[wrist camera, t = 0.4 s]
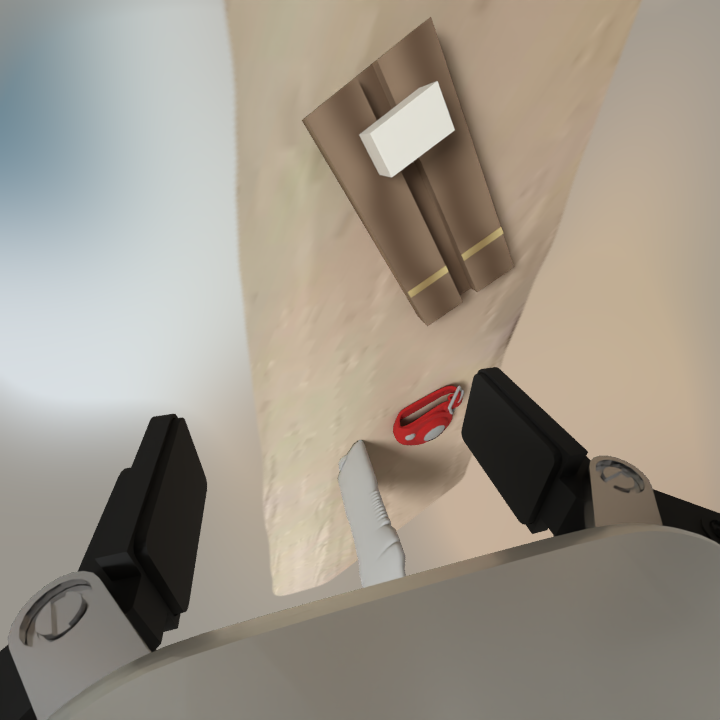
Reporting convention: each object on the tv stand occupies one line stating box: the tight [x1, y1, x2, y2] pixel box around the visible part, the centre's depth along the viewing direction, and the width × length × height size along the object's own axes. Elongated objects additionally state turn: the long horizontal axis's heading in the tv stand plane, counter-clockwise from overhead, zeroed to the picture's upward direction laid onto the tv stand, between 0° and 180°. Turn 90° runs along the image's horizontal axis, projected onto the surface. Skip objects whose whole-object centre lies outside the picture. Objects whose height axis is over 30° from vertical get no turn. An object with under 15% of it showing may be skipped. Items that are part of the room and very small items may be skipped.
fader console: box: [302, 17, 514, 326], centre depth 34 cm, size 12×24×3 cm, turn 33°
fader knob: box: [359, 81, 455, 178], centre depth 28 cm, size 6×4×5 cm, turn 123°
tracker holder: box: [393, 386, 464, 445], centre depth 51 cm, size 12×4×10 cm
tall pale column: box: [338, 440, 406, 588], centre depth 46 cm, size 11×4×22 cm, turn 160°
